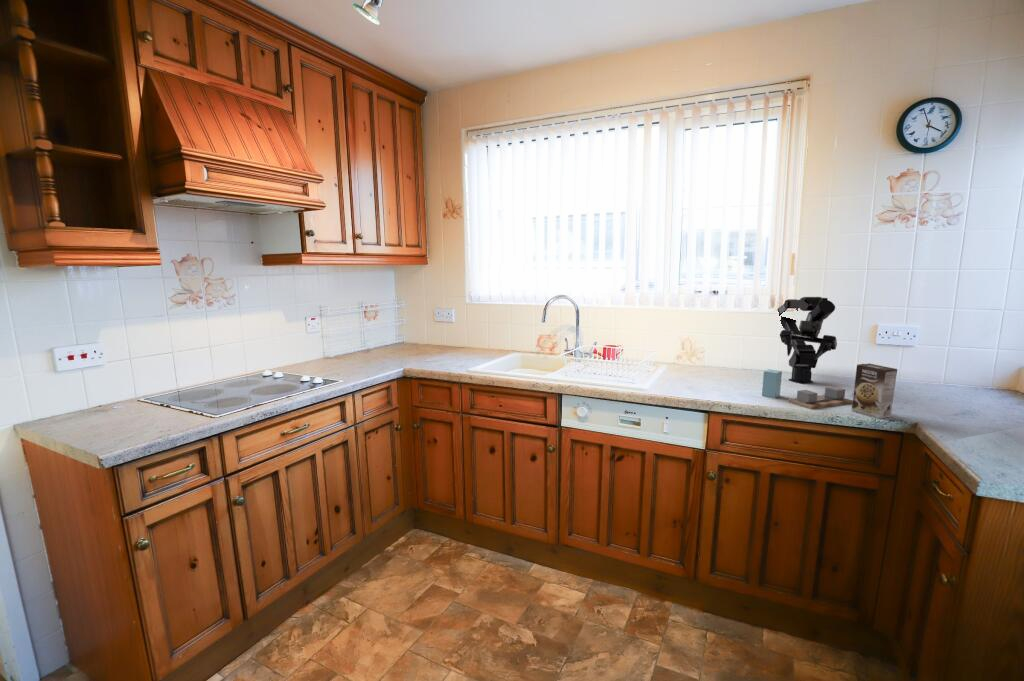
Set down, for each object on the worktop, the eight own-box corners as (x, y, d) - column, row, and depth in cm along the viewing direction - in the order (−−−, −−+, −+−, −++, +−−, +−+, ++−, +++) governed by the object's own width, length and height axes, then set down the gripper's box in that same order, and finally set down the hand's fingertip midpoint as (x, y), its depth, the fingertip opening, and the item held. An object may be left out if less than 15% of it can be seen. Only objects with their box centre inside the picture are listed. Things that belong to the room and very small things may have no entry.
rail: (806, 403, 167) (806, 402, 167) (797, 401, 171) (797, 399, 171) (843, 398, 173) (843, 397, 173) (834, 396, 177) (834, 394, 176)
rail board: (810, 409, 165) (811, 406, 165) (788, 402, 173) (788, 399, 173) (852, 403, 171) (853, 400, 171) (828, 396, 180) (829, 393, 179)
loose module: (761, 395, 182) (763, 371, 180) (767, 393, 185) (769, 369, 183) (774, 398, 178) (776, 373, 177) (779, 395, 181) (781, 371, 180)
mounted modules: (808, 402, 167) (808, 394, 167) (796, 399, 171) (797, 390, 171) (844, 397, 173) (845, 389, 172) (832, 394, 177) (833, 386, 176)
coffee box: (850, 410, 163) (855, 364, 160) (863, 408, 165) (868, 362, 162) (879, 419, 154) (884, 370, 151) (892, 416, 156) (898, 368, 154)
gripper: (783, 309, 190) (771, 342, 185) (839, 315, 178) (827, 349, 173) (787, 326, 198) (776, 357, 193) (841, 332, 185) (830, 366, 180)
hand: (801, 357), depth 184 cm, fingers open, 9 cm apart
